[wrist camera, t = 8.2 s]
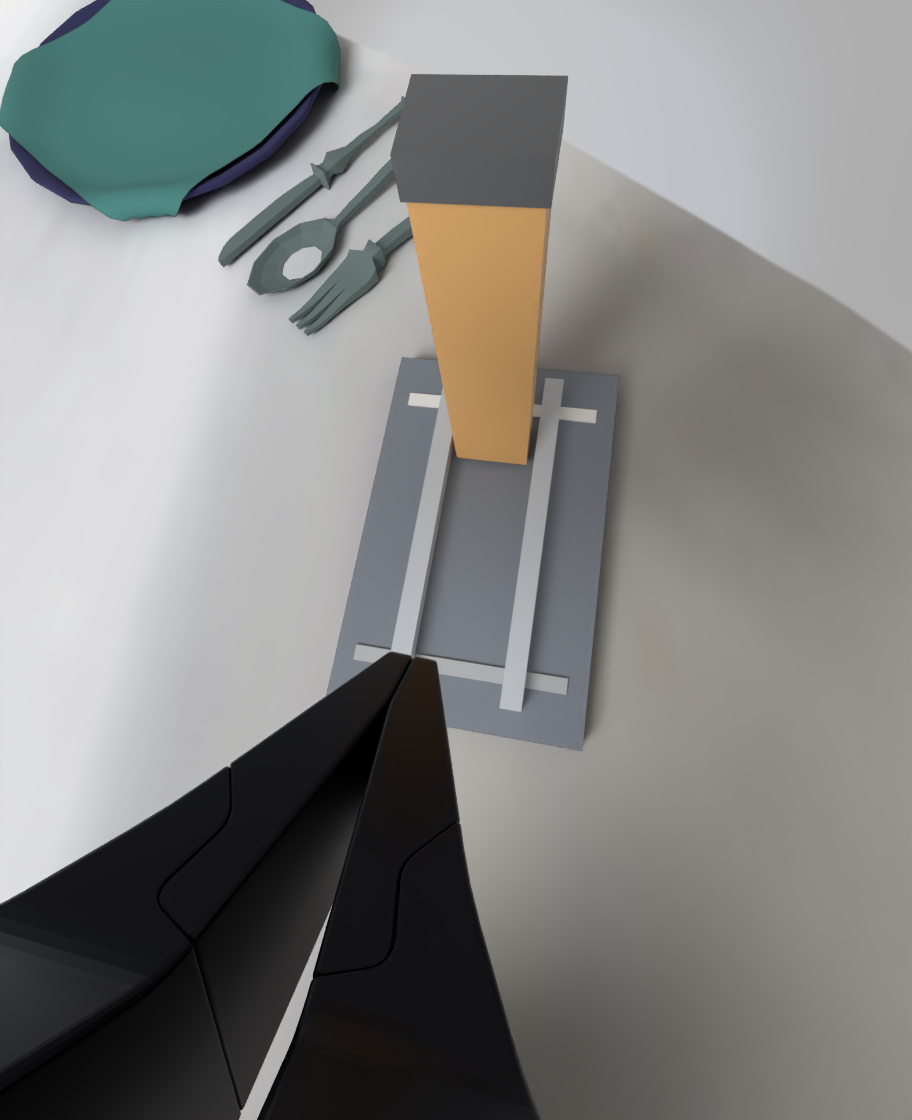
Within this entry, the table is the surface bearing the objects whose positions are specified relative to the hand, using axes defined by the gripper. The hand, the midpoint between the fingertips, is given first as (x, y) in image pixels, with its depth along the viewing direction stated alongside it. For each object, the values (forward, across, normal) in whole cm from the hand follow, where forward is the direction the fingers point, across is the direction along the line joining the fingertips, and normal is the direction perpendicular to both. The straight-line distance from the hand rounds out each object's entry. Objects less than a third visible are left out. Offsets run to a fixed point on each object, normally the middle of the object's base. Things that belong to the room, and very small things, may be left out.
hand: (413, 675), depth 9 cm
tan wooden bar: (+16, +1, 0) cm, 16 cm away
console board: (+14, 0, +4) cm, 14 cm away
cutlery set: (+30, +20, -11) cm, 38 cm away
